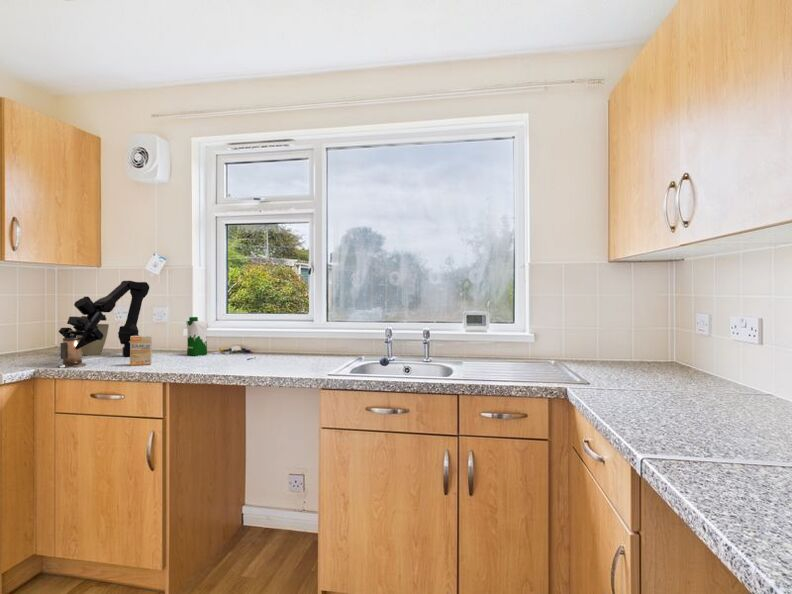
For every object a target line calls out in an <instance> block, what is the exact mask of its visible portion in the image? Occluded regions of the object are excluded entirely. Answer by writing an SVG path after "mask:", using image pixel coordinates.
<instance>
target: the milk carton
mask: <svg viewBox="0 0 792 594" xmlns="http://www.w3.org/2000/svg"><path fill="white" fill-rule="evenodd" d="M198 319H199V318H198V317H197V316H189V319H188V320H186V321H185V323H186V329H187V330H186V331H187V346H186V347H187V348H186V349H187V352H186V356H188V355H190V357H199V356H198V355H202V356H207V355H208V343H207V342H208V339H207V338H208V331H207V330H208V323H209V321H208V320H198ZM206 354H207V355H206Z"/></svg>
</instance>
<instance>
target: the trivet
mask: <svg viewBox="0 0 792 594" xmlns="http://www.w3.org/2000/svg"><path fill="white" fill-rule="evenodd" d="M62 365H65V367H74V368H80V367H79V366H82V367H85V365H87V363H85V362H82V363H78V364H63V363H62Z"/></svg>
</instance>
